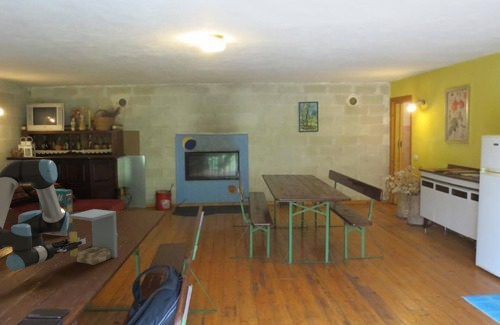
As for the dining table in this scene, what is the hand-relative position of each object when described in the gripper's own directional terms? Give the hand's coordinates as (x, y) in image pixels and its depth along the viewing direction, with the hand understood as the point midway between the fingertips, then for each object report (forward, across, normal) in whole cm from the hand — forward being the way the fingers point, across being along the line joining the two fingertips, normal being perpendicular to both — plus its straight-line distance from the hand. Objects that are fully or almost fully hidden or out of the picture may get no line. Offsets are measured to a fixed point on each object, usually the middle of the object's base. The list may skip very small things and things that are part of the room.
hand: (82, 240), depth 204 cm
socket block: (+8, 0, -13) cm, 15 cm away
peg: (-6, 0, -6) cm, 9 cm away
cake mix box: (+37, -63, -13) cm, 75 cm away
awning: (+8, 0, -13) cm, 15 cm away
